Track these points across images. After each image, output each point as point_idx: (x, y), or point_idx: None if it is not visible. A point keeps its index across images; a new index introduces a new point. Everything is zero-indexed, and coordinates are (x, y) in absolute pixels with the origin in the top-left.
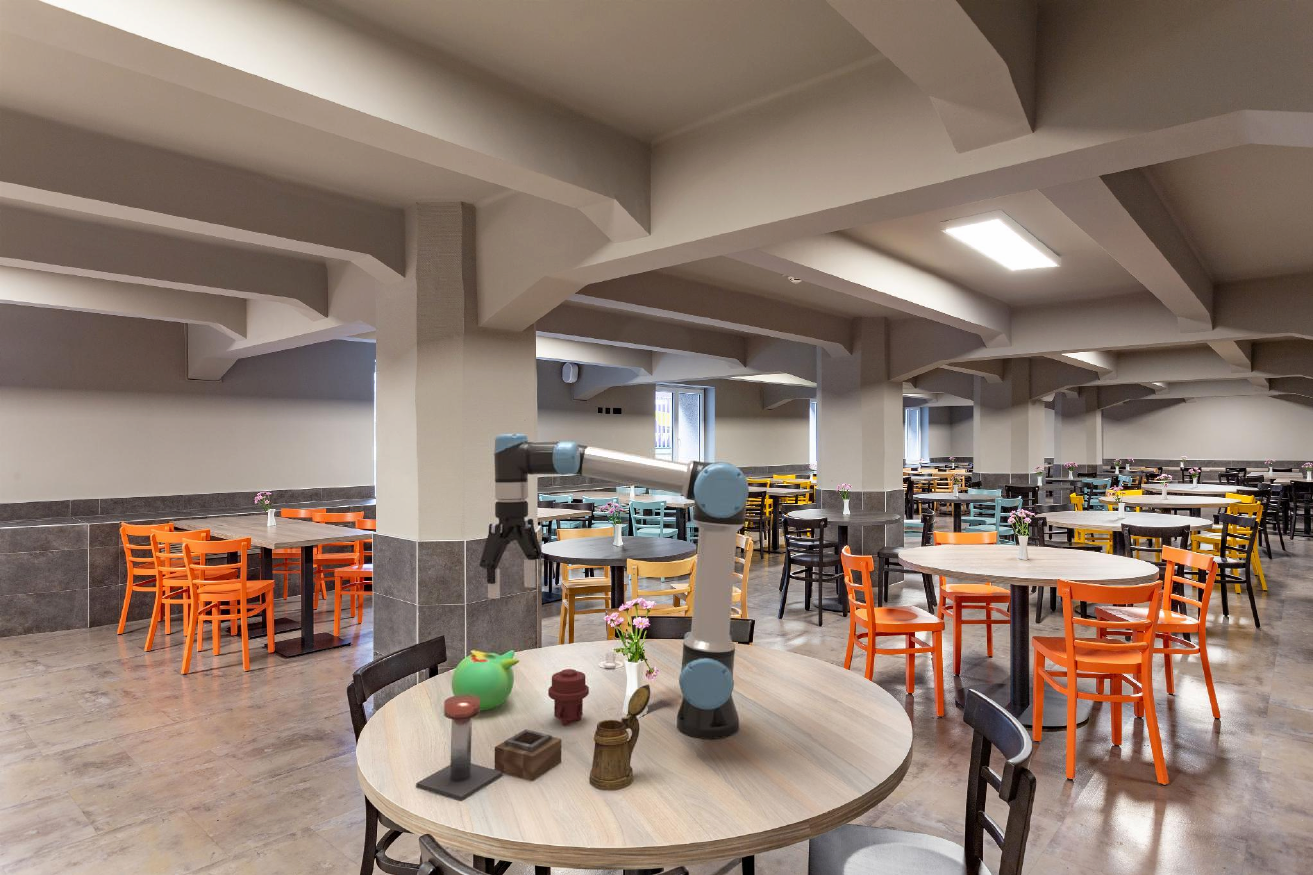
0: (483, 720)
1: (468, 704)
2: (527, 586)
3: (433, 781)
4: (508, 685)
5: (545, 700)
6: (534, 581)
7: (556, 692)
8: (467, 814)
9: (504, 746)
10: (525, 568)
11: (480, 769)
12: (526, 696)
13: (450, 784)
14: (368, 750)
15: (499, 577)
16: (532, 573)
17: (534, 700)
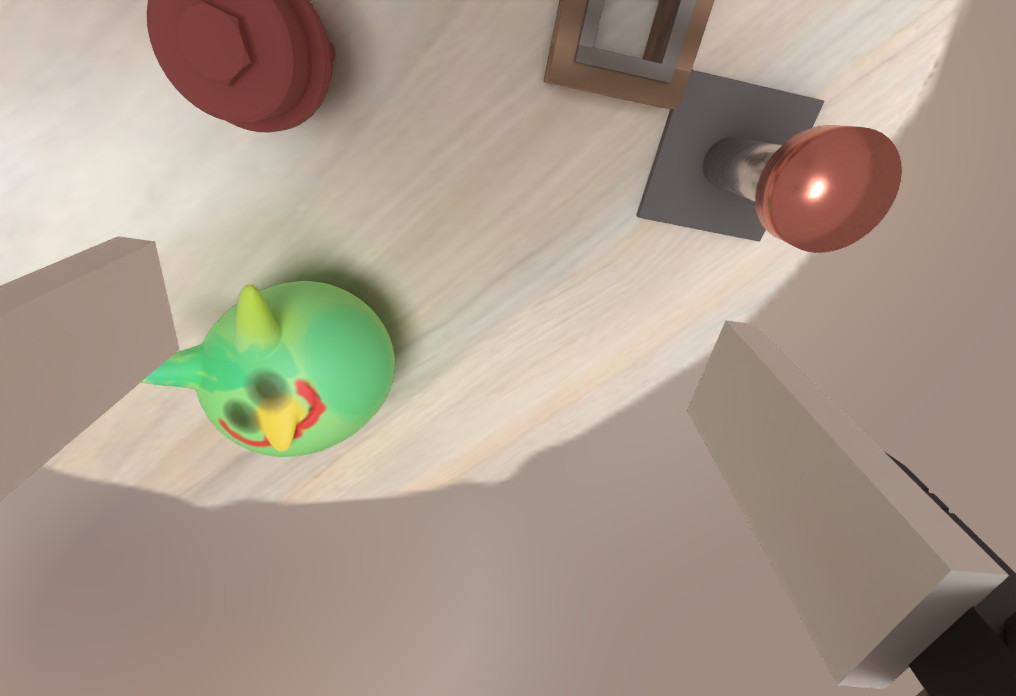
0: (396, 292)
1: (873, 152)
2: (168, 319)
3: (751, 210)
4: (300, 286)
5: (196, 206)
6: (90, 260)
7: (309, 75)
8: (885, 46)
9: (672, 80)
10: (8, 470)
11: (680, 136)
12: (203, 271)
13: None
14: (609, 413)
15: (853, 455)
16: (23, 326)
17: (215, 236)
